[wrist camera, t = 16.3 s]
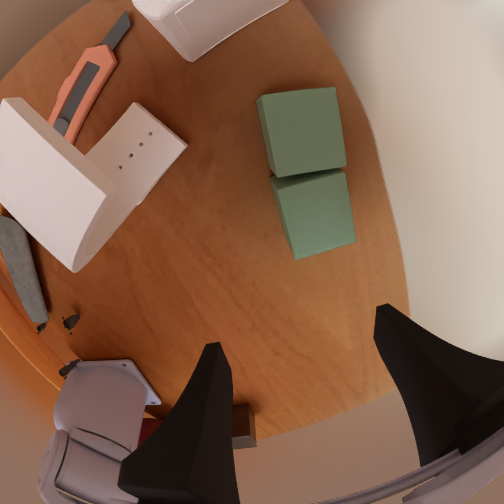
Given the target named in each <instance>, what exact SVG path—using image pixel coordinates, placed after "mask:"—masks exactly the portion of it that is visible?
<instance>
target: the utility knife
mask: <svg viewBox="0 0 504 504" xmlns="http://www.w3.org/2000/svg"><path fill="white" fill-rule="evenodd" d="M130 26H131V24H130V21H129V18H128V14H127V11H125V12H124V13H123V15H122V16H121V17H120V18H119V20H118V21H117V22H116V24H115V25H114V26H113V28H112V29H111V30H110V32H109V33H108V35H107V36H106V37H105V39H104V40H103V42H102V43H101V45H100V46H96V47H91V48H87V49H86V50H85V51H84V53H83V54H82V56H81V58H80V59H79V61H78V63H77V64H76V66H75V68H74V70H73V71H72V73H71V75H70V77H66V79H65V81H64V83H63V85H62V87H61V89H60V91H59V93H58V95H57V96H58V100H57V102H56V104H55V106H54V108H53V111H52V113H51V115H50V117H49V120H48V123H49V124H50V125H51V126H52V127H53V128H54V129H55V130H56V131H58V132H59V133H60V134H61V135H62V136H63V137H64V138H65V139H66V140H67V141H69V142H70V143H71V144H72V145H73V143H74V141H75V139H76V137H77V135H78V132H79V130H80V128H81V126H82V124H83V122H84V120H85V118H86V116H87V114H88V112H89V110H90V109H91V107H92V105H93V103H94V101H95V99H96V98H97V96H98V94H99V92H100V91H101V89H102V87H103V86H104V84H105V82H106V81H107V79H108V77H109V76H110V74H111V73H112V71H113V69H114V68H115V66H116V65H117V61H116V58H115V56H114V54H113V51H112V50H113V49H114V48H115V46H116V45H117V43H118V42H119V40H120V39H121V38H122V36H123V35H124V34H125V32H126V31H127V30H128V28H129V27H130Z"/></svg>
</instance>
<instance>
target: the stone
mask: <svg viewBox="0 0 504 504" xmlns="http://www.w3.org/2000/svg"><path fill="white" fill-rule="evenodd" d="M0 247H1V251H2V254H3V257H4V260H5V263H6V266H7V269H8V271H9V274H10V277H11V279H12V282H13V284H14V287H15V289H16V291H17V294H18V296H19V298H20V300H21V302H22V304H23V306H24V308H25V310H26V312H27V313H28V315H29V316H30V318H31V320H32V321H33V322H36V323H39V322H40V323H44V322H47V321H48V320H49V317H48V312H47V308H46V305H45V302H44V299H43V296H42V292H41V288H40V284H39V280H38V277H37V273H36V269H35V266H34V262H33V258H32V254H31V250H30V246H29V242H28V238H27V234H26V231H25V229H24V228H23V227H22V226H21V225H20V224H19V223H17V222H16V221H14V220H13V219H11V218H9V217H5V216H3V215H0Z"/></svg>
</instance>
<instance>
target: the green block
mask: <svg viewBox="0 0 504 504" xmlns="http://www.w3.org/2000/svg"><path fill="white" fill-rule="evenodd" d="M256 104H257V109H258V113H259V118H260V123H261V128H262V133H263V138H264V143H265V148H266V153H267V158H268V163H269V167H270V168H271V170H272V171H273V172H274V174H275V175H276V177H277V178H279V177H284V176H290V175H296V174H301V173H307V172H313V171H319V170H326V169H332V168H339V167H346V166H347V162H346V153H345V145H344V138H343V131H342V124H341V118H340V112H339V106H338V100H337V95H336V89H335V87H325V88H313V89H303V90H294V91H286V92H279V93H272V94H266V95H261V96H260V97H259V98H258V99H257V100H256Z"/></svg>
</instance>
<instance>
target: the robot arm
mask: <svg viewBox="0 0 504 504" xmlns="http://www.w3.org/2000/svg"><path fill="white" fill-rule="evenodd" d="M373 338H374V341H375V343H376V346H377V349H378V351H379V354H380V356H381V358H382V360H383V362H384V363H385V365H386V367H387V369H388V371H389V373H390V374H391V376H392V378H393V380H394V382H395V384H396V386H397V388H398V389H399V392H400V394H401V396H402V398H403V401H404V404H405V407H406V409H407V412H408V415H409V418H410V421H411V425H412V428H413V432H414V435H415V440H416V444H417V449H418V454H419V459H420V466H421V468H419V469H417V470H415V471H413V472H410V473H408V474H406V475H403V476H401V477H399V478H396V479H394V480H391V481H389V482H386V483H383V484H380V485H378V486H375V487H372V488H369V489H366V490H363V491H360V492H356V493H353V494H350V495H346V496H343V497H339V498H335V499H331V500H327V501H322V502H318V503H313V504H370V503H373V502H376V501H379V500H382V499H385V498H387V497H390V496H392V495H395V494H397V493H400V492H402V491H404V490H407V489H409V488H411V487H414V486H416V485H418V484H420V483H422V482H424V481H426V480H428V479H430V478H432V477H434V476H435V478H434V479H432V480H430V481H429V482H427V483H425V484H423V485H421V486H419V487H417V488H415V489H414V490H413V491H412V492H411V493H409V494H408V495H406V496H404V497H403V498H402V501H403V503H402V504H460V503H462V502H463V501H465V500H466V499H468V498H469V497H471V496H472V495H474V494H475V493H476V492H478V491H479V490H481V489H482V488H483V487H485V486H486V485H487V484H488V483H490V482H491V481H492V480H493V479H495V478H496V477H497V476H499V475H500V474H501V473H502V472H503V471H504V361H498V360H493V359H489V358H486V357H482V356H479V355H476V354H473V353H471V352H468V351H465V350H463V349H461V348H458V347H456V346H454V345H452V344H450V343H448V342H446V341H444V340H442V339H440V338H439V337H437V336H435V335H434V334H432V333H430V332H429V331H427V330H426V329H424V328H423V327H421V326H420V325H418V324H417V323H415V322H414V321H412V320H411V319H409V318H408V317H407V316H405V315H404V314H402V313H401V312H400V311H398V310H397V309H396V308H394V307H393V306H391V305H390V304H388V303H387V304H384V305H380V306H377V307H376V318H375V328H374V336H373ZM69 363H71V361H69V362H68V363H67V365H68V364H69ZM160 404H161V400H160V398H159V397H158V396H157V394H156V393H155V392H154V390H153V389H152V388H151V386H150V385H149V384H148V382H147V381H146V380H145V378H144V377H143V375H142V374H141V373H140V371H139V370H138V368H137V367H136V366H135V364H134V363H133V361H131V360H129V359H125V360H106V361H79V362H78V363H77V365H76V366H75V368H73V369H72V370H71V371H70V372H69V374H68V376H67V378H66V380H65V382H64V385H63V387H62V389H61V391H60V394H59V396H58V399H57V401H56V403H55V407H54V413H53V416H54V422H55V426H56V428H57V431H54V432H53V433H52V435H51V436H50V438H49V440H48V442H47V445H46V447H45V450H44V452H43V456H42V459H41V463H40V468H39V475H38V479H37V487H38V492H39V495H40V496H41V498H42V499H43V500H44V502H45V503H46V504H86V503H84V502H81V501H79V500H77V499H74V498H72V497H70V496H68V495H66V494H63V493H61V492H59V491H58V490H57V489H56V487H57V488H59V489H61V490H63V491H65V492H67V493H69V494H72V495H74V496H77V497H79V498H81V499H83V500H86V501H88V502H91V503H93V504H240V500H239V494H238V488H237V481H236V474H235V466H234V457H233V447H232V406H233V383H232V372H231V368H230V366H229V363H228V361H227V358H226V356H225V354H224V351H223V349H222V346H221V344H220V342H215V343H209V344H206V345H205V347H204V350H203V352H202V354H201V357H200V359H199V361H198V363H197V366H196V368H195V370H194V372H193V374H192V376H191V378H190V380H189V382H188V384H187V386H186V387H185V389H184V391H183V392H182V394H181V396H180V398H179V399H178V401H177V402H176V404H175V405H174V407H173V408H172V410H171V411H170V413H169V414H168V415H167V417H166V418H165V419H164V420H163V422H162V423H161V424H160V425H159V426H158V428H157V429H156V430H155V431H154V432H153V433H152V434H151V435H150V436H149V437H148V438H147V439H146V440H145V441H144V442H143V443H142V444H141V445H140V446H139V447H138V448H137V445H138V439H139V434H140V429H141V424H142V419H143V414H144V409H145V405H160Z"/></svg>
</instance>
